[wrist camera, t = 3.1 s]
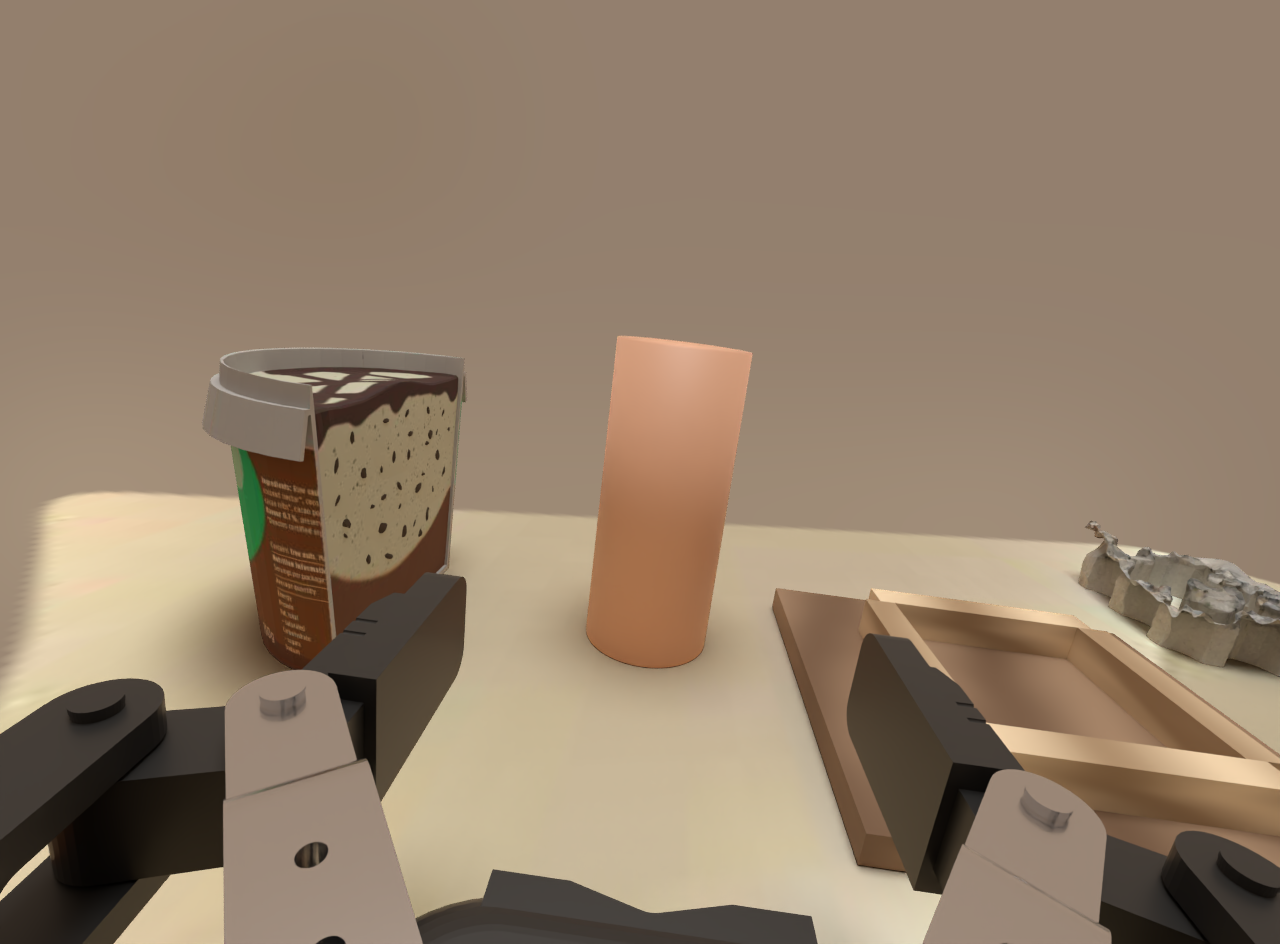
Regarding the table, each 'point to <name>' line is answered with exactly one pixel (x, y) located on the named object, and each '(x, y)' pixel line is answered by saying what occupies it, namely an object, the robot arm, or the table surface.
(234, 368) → the food container
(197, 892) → the table surface
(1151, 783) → the board
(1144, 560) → the egg carton
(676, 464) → the terracotta pin
